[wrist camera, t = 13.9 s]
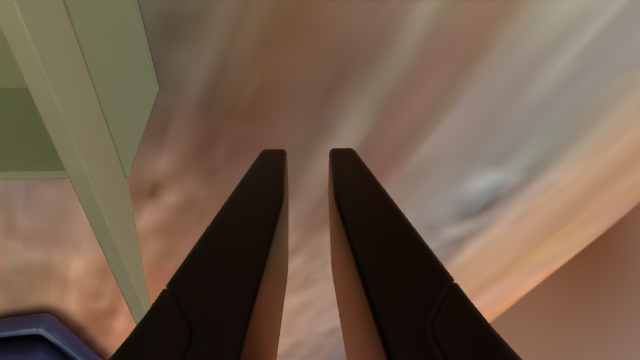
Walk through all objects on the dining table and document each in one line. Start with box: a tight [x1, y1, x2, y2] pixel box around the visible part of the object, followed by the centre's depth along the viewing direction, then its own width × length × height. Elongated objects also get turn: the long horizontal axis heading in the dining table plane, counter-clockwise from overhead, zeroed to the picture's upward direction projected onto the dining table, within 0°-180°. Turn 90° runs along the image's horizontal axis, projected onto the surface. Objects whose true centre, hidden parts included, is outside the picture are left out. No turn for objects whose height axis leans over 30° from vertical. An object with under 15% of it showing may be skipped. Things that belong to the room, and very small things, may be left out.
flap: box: [0, 0, 150, 325], centre depth 11 cm, size 14×6×1 cm
